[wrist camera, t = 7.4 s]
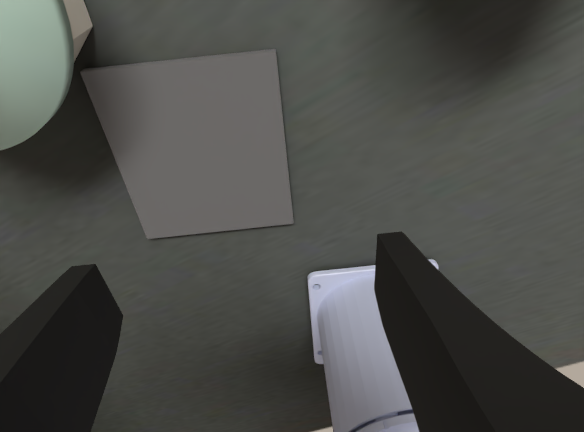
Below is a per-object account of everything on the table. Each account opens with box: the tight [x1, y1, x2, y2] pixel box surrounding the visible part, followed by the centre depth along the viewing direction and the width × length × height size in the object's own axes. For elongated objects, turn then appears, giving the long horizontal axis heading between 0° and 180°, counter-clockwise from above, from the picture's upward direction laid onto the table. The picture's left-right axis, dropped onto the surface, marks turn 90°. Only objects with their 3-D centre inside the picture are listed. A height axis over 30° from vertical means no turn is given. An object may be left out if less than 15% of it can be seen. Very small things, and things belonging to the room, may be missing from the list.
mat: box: [80, 49, 294, 239], centre depth 19 cm, size 9×8×1 cm
